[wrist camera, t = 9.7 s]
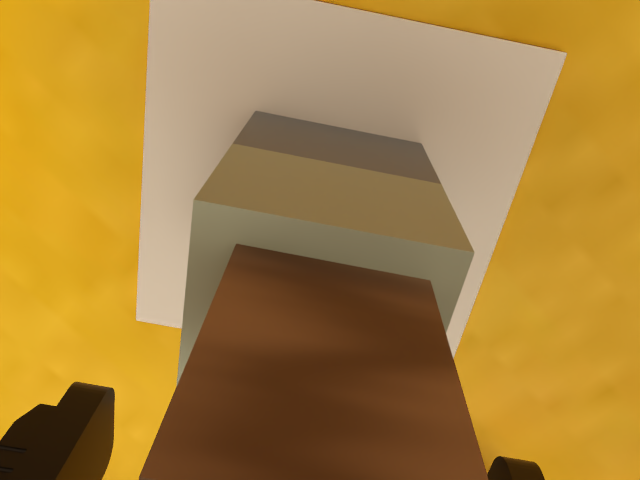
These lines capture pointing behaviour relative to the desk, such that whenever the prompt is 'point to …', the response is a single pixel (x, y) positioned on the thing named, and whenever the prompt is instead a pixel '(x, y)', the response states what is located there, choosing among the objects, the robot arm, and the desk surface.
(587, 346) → the desk surface
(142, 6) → the desk surface
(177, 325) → the beige mat
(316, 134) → the slate base block
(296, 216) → the sage tower block
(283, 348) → the walnut block
